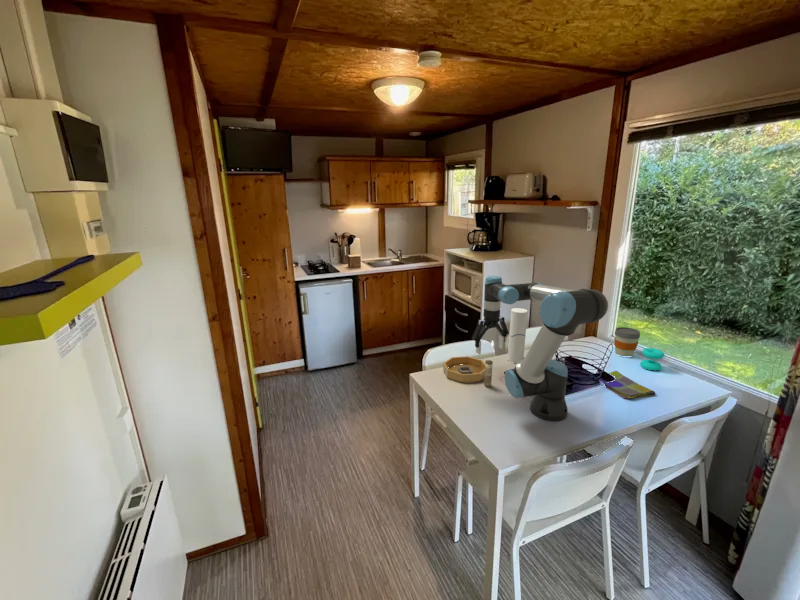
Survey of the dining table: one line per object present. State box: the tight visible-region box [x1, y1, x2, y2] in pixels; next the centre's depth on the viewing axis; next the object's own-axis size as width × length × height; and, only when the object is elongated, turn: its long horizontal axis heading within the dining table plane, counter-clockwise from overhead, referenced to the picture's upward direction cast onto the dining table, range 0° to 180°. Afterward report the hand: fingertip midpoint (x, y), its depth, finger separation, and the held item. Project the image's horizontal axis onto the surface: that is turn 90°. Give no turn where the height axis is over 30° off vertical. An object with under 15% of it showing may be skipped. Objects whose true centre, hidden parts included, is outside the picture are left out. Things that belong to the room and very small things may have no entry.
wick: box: [483, 359, 493, 388], centre depth 184 cm, size 3×3×13 cm
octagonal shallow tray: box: [442, 355, 485, 384], centre depth 199 cm, size 22×22×5 cm
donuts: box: [639, 347, 665, 372], centre depth 202 cm, size 10×10×10 cm
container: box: [507, 307, 528, 364], centre depth 210 cm, size 9×9×30 cm
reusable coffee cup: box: [613, 326, 641, 356], centre depth 218 cm, size 13×13×15 cm
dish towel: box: [603, 370, 656, 400], centre depth 184 cm, size 18×24×3 cm
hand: (489, 350), depth 181 cm, fingers open, 13 cm apart
